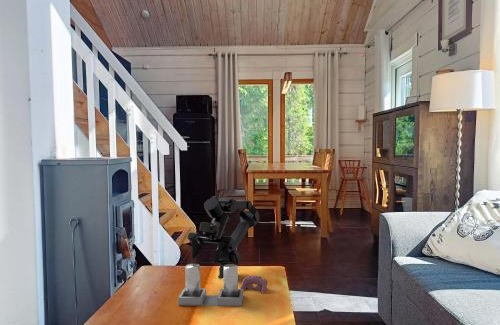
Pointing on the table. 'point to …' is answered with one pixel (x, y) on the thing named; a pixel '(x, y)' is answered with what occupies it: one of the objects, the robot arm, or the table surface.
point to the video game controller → (251, 280)
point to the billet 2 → (230, 280)
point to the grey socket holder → (211, 299)
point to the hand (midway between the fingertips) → (203, 261)
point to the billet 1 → (192, 280)
